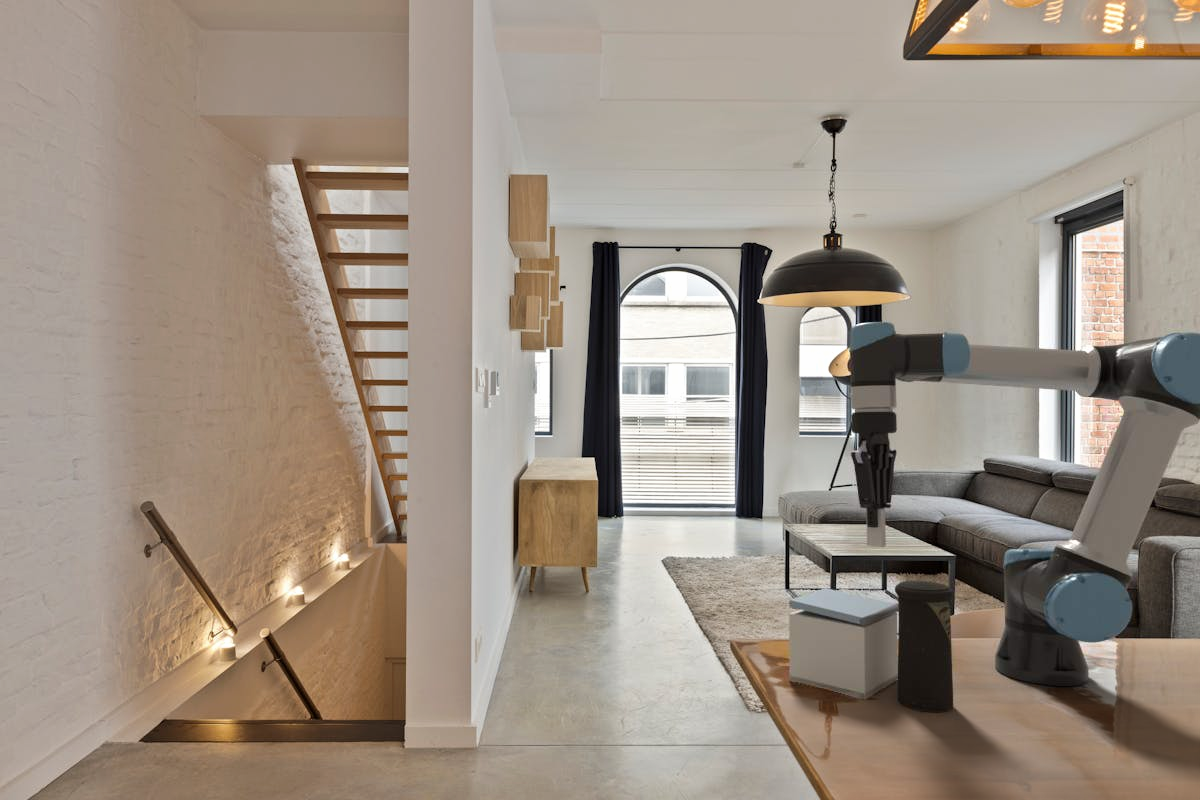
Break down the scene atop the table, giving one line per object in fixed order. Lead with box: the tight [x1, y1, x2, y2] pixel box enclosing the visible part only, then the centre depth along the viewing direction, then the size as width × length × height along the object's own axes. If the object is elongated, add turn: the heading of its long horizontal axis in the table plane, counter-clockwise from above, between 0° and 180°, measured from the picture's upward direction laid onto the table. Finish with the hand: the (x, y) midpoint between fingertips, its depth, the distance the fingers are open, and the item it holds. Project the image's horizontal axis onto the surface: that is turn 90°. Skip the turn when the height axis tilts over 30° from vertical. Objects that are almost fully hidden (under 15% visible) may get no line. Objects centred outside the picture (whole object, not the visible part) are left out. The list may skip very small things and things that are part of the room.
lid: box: [788, 587, 899, 626], centre depth 140 cm, size 15×14×1 cm
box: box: [788, 609, 898, 701], centre depth 140 cm, size 14×14×12 cm
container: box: [894, 580, 954, 713], centre depth 128 cm, size 9×9×20 cm
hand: (876, 545), depth 135 cm, fingers closed
